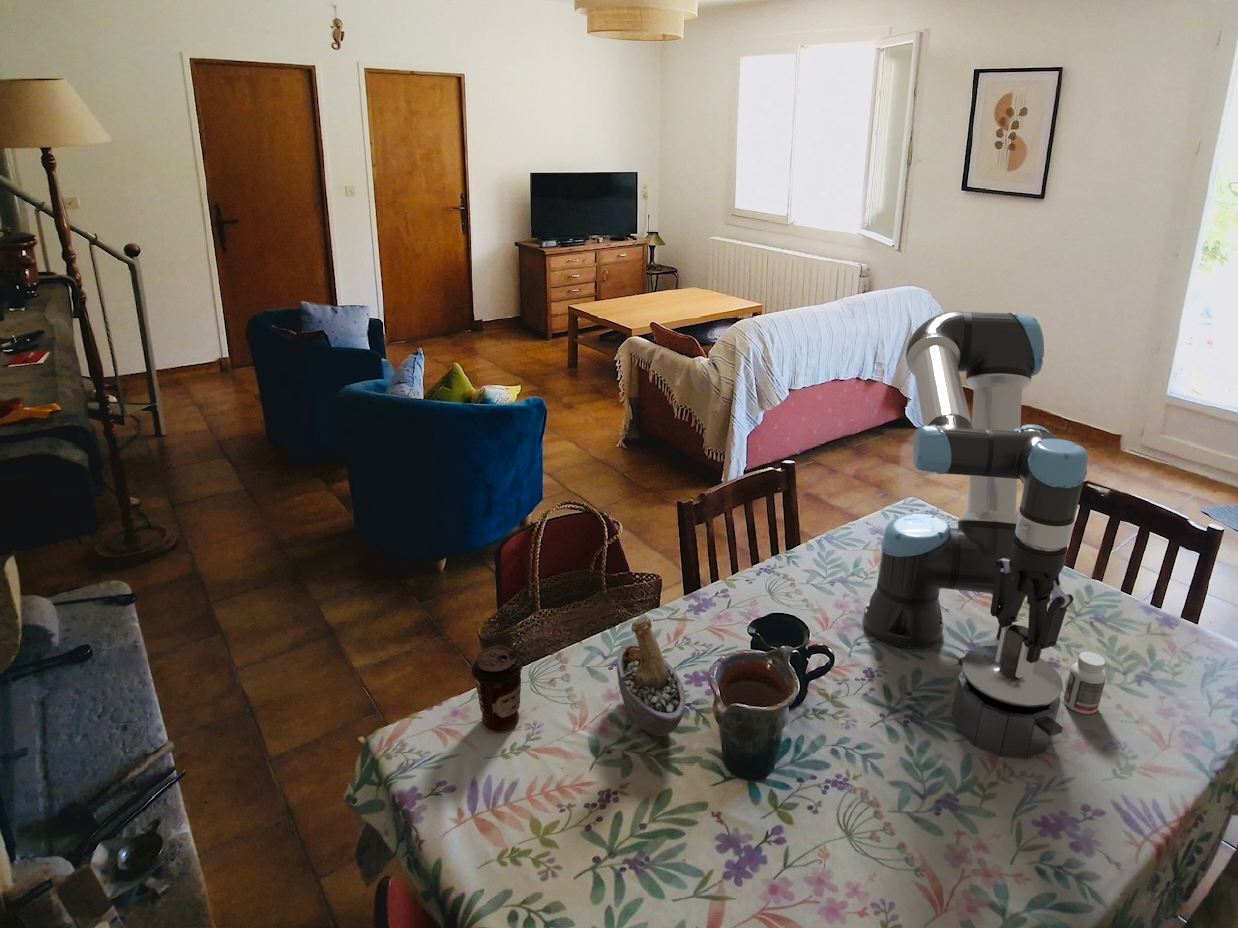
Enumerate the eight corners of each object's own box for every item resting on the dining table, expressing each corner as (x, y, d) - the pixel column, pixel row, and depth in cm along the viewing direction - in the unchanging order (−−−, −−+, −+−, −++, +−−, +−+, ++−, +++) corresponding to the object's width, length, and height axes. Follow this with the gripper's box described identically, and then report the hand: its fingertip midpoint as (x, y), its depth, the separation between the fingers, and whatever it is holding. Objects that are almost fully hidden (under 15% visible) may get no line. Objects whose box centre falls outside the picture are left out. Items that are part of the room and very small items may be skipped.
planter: (628, 679, 154) (627, 584, 146) (711, 709, 146) (716, 611, 138) (585, 727, 142) (582, 627, 134) (673, 762, 135) (676, 659, 127)
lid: (941, 665, 142) (950, 617, 138) (1009, 645, 147) (1019, 598, 143) (1010, 720, 129) (1021, 669, 125) (1082, 696, 134) (1095, 646, 130)
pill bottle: (1103, 707, 146) (1116, 661, 142) (1086, 719, 143) (1099, 672, 140) (1073, 690, 150) (1085, 645, 146) (1056, 701, 148) (1067, 655, 144)
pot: (924, 701, 148) (930, 663, 145) (990, 680, 153) (997, 644, 150) (1011, 779, 131) (1021, 738, 128) (1083, 753, 136) (1093, 713, 133)
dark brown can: (536, 713, 146) (532, 650, 140) (510, 743, 139) (506, 679, 134) (493, 699, 149) (488, 638, 144) (466, 728, 142) (460, 665, 137)
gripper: (981, 521, 134) (958, 644, 143) (1067, 570, 119) (1036, 704, 129) (1017, 513, 136) (992, 634, 145) (1106, 560, 122) (1073, 692, 131)
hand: (1013, 667), depth 137 cm, fingers closed on lid, 4 cm apart
